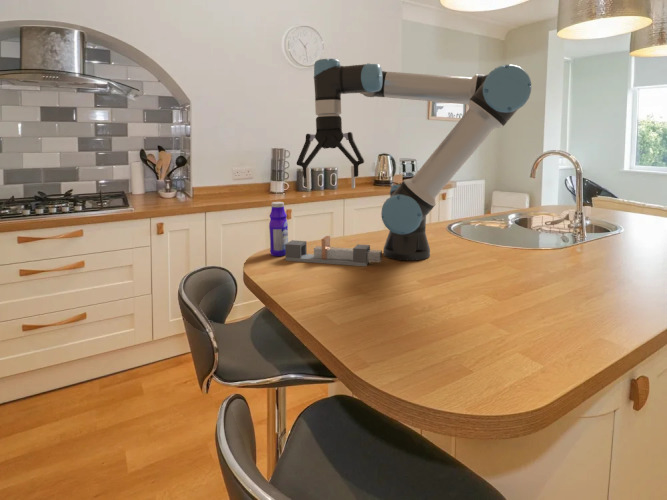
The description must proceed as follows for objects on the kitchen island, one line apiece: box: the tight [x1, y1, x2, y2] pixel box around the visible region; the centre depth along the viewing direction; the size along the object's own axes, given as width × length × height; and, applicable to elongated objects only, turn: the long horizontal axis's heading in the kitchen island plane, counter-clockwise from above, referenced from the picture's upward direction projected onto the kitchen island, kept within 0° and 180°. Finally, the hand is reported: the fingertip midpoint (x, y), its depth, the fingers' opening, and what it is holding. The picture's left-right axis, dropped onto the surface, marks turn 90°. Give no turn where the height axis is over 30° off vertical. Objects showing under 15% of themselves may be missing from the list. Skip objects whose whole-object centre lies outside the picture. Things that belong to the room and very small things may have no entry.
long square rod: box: [313, 235, 383, 263], centre depth 146 cm, size 21×5×6 cm, turn 74°
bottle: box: [268, 201, 289, 257], centre depth 155 cm, size 7×6×17 cm
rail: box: [285, 239, 371, 267], centre depth 148 cm, size 26×6×5 cm, turn 74°
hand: (331, 188), depth 143 cm, fingers open, 13 cm apart
